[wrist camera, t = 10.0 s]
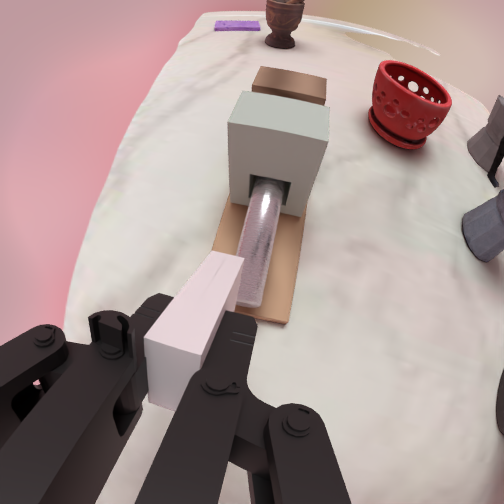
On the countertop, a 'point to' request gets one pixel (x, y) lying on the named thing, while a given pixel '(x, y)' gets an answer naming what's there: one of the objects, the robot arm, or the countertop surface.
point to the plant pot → (406, 105)
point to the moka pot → (487, 219)
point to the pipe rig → (268, 219)
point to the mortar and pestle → (283, 21)
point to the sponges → (237, 26)
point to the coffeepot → (488, 137)
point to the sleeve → (276, 146)
